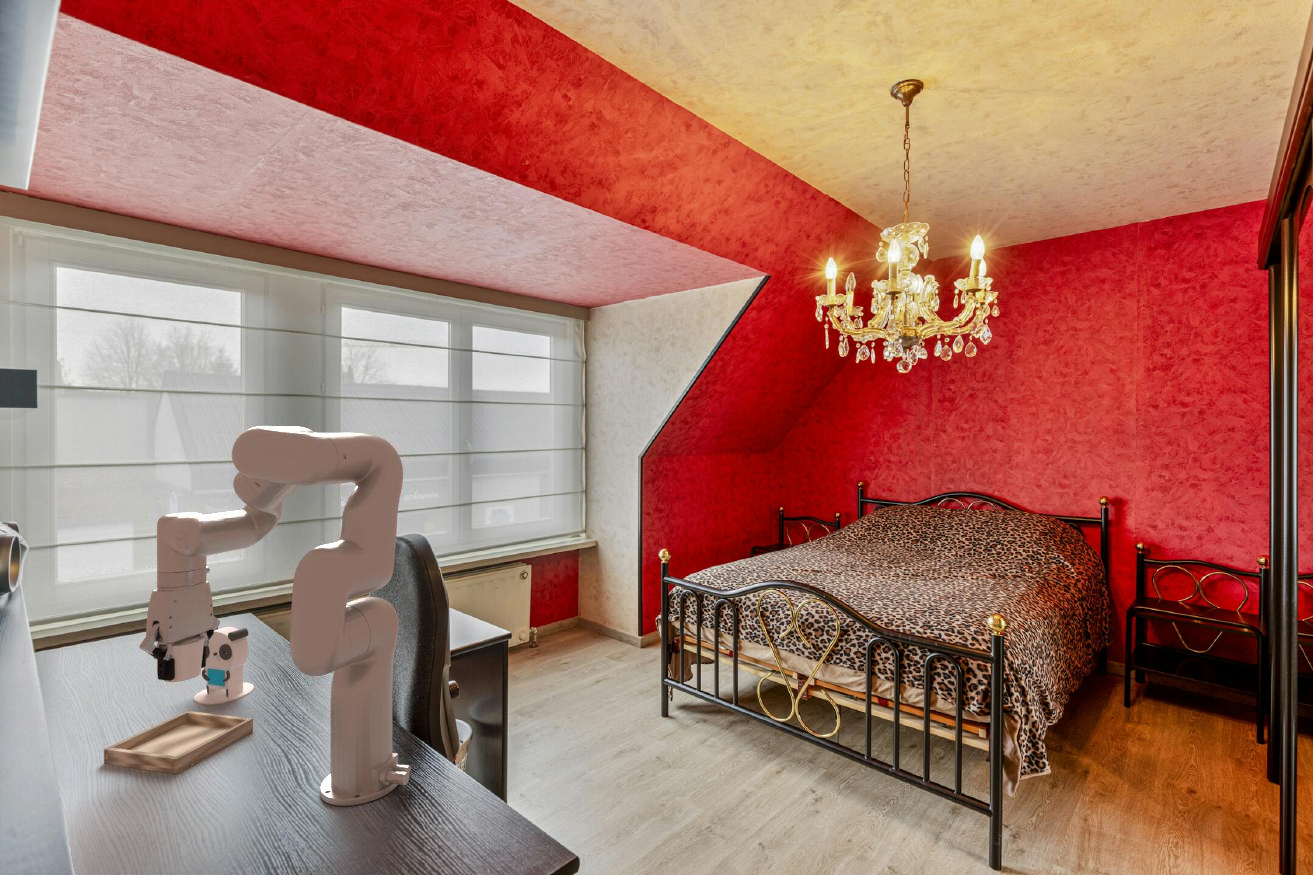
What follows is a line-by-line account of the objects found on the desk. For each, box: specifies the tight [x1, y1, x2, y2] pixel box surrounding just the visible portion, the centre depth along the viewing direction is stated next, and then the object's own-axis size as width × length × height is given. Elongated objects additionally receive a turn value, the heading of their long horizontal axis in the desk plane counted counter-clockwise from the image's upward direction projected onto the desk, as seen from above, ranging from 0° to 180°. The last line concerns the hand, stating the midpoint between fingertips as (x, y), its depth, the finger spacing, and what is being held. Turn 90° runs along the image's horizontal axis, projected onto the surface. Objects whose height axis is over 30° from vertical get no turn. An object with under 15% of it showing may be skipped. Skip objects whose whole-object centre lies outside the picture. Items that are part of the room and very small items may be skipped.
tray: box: [103, 710, 254, 775], centre depth 119 cm, size 16×16×3 cm
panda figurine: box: [193, 626, 255, 705], centre depth 144 cm, size 12×11×15 cm
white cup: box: [162, 636, 204, 683], centre depth 119 cm, size 7×7×7 cm
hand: (182, 672), depth 119 cm, fingers closed on white cup, 5 cm apart
